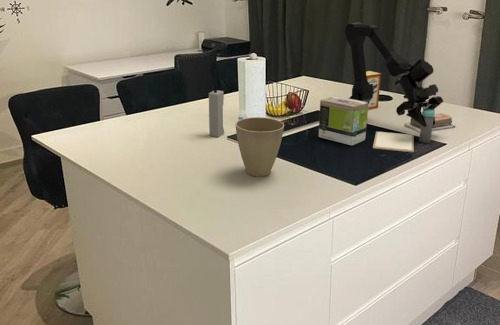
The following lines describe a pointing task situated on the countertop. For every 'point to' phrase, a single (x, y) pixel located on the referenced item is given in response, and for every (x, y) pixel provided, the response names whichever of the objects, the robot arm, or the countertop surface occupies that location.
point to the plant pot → (259, 143)
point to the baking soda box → (374, 88)
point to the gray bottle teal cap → (427, 131)
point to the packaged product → (440, 123)
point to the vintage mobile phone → (216, 111)
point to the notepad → (394, 141)
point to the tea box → (343, 120)
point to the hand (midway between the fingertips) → (429, 125)
